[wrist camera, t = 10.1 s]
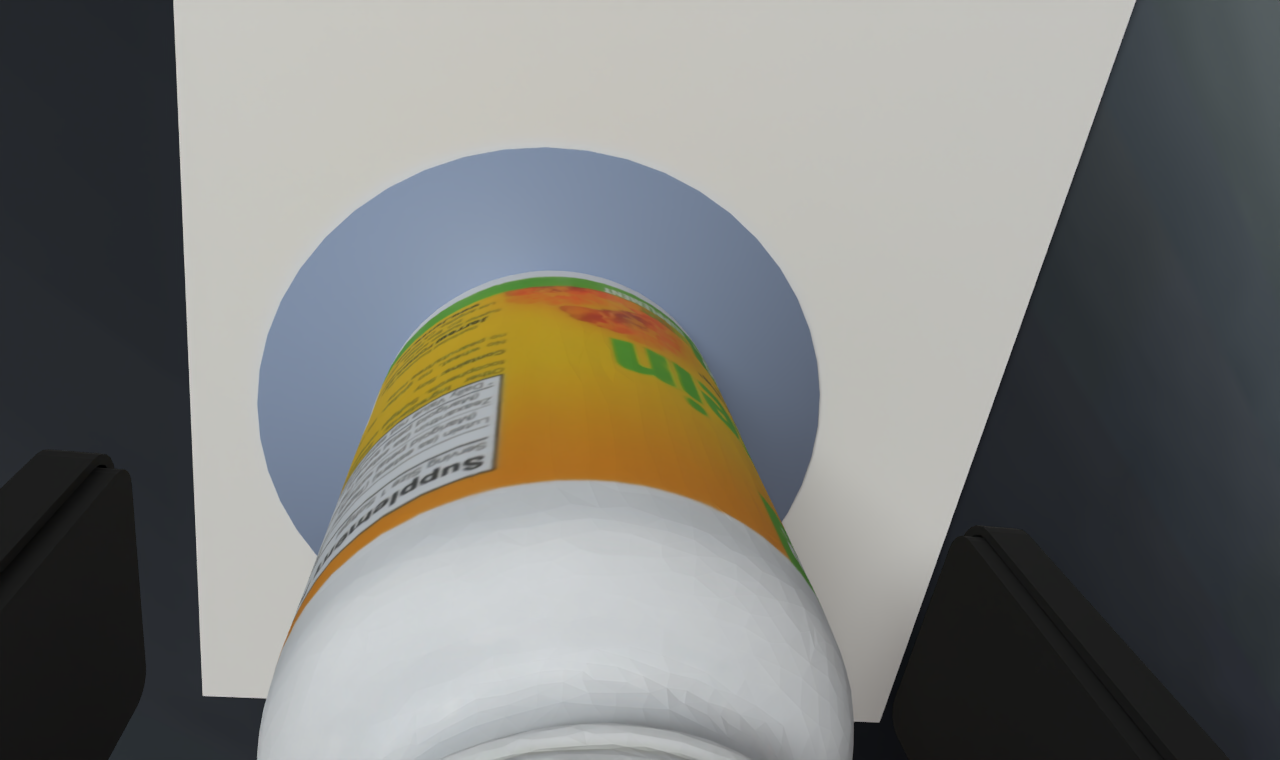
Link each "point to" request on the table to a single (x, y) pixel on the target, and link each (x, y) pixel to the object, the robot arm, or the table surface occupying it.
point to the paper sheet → (624, 247)
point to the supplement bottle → (555, 557)
